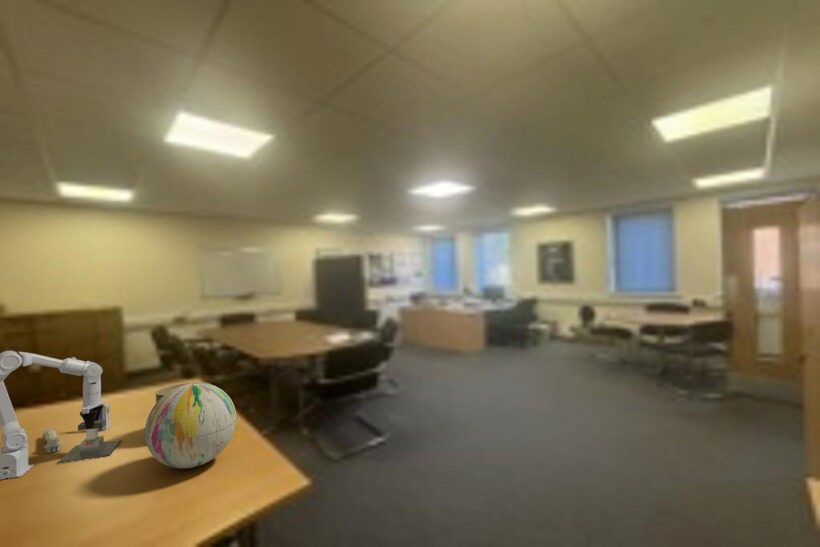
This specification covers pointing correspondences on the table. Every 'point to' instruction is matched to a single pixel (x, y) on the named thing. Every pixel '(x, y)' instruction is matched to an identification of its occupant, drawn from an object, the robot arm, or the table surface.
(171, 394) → the globe
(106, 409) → the walkman
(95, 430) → the jack column
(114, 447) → the jack base
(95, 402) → the robot arm
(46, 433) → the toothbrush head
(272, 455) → the table surface
